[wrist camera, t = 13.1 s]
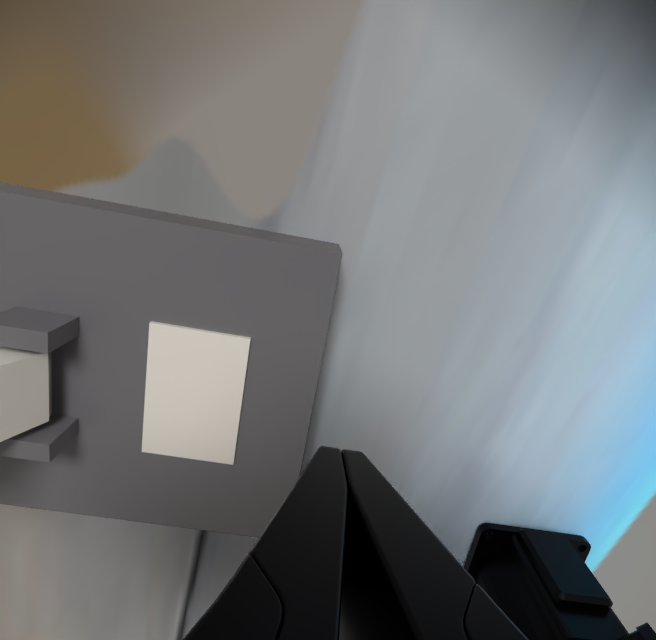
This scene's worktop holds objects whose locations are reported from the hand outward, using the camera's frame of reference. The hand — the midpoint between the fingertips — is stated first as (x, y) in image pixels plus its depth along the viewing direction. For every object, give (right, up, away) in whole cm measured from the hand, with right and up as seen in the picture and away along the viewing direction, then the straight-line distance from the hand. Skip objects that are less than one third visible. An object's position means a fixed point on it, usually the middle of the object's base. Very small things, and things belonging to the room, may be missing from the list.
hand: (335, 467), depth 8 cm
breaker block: (-12, +2, +12) cm, 17 cm away
